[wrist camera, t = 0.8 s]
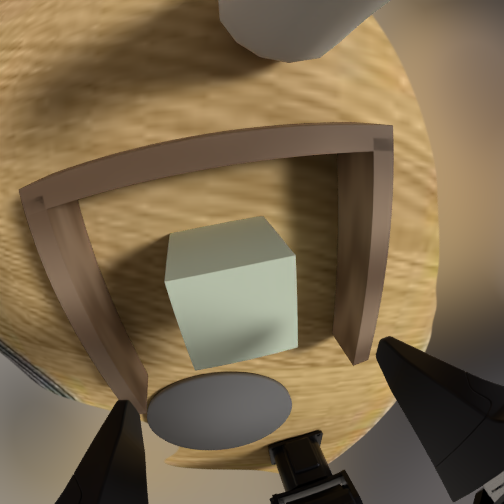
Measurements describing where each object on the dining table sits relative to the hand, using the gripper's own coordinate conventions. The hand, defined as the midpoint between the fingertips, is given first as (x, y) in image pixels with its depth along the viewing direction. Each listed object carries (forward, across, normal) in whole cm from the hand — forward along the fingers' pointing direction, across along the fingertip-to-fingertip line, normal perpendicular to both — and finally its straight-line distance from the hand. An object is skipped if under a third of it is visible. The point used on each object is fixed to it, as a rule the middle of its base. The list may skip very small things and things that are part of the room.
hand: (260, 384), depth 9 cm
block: (+8, 0, 0) cm, 8 cm away
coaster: (+8, +3, +15) cm, 17 cm away
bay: (+8, 0, 0) cm, 8 cm away
